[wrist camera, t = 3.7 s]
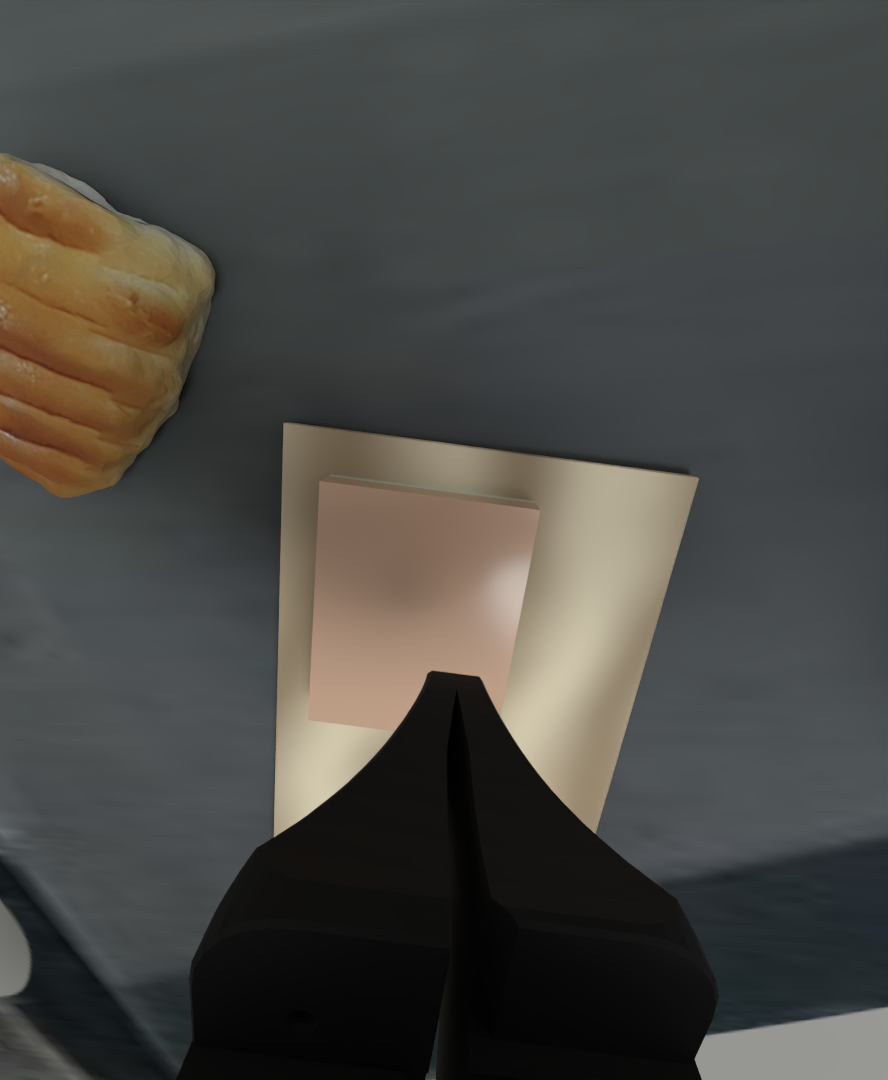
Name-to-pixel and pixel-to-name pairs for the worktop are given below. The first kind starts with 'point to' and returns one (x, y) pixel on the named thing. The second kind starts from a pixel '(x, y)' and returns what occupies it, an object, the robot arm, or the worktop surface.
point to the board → (546, 616)
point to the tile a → (412, 594)
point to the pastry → (89, 328)
